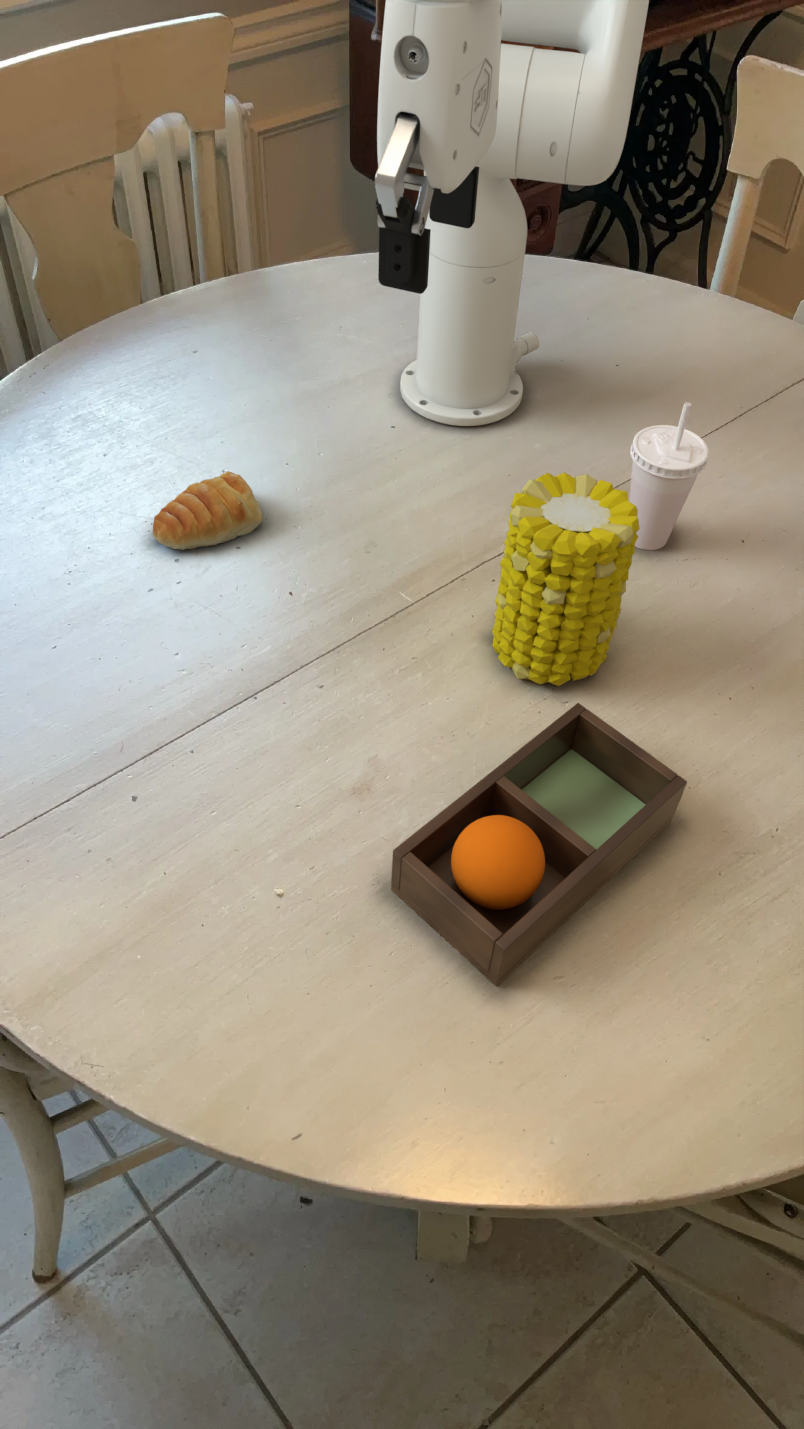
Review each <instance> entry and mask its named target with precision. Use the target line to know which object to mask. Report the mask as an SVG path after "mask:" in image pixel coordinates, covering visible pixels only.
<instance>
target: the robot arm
mask: <svg viewBox="0 0 804 1429" xmlns="http://www.w3.org/2000/svg"><path fill="white" fill-rule="evenodd" d="M649 4H650V0H385V4H384V13H383V24H382V36H381V38H382V39H381V46H380V60H379V61H380V62H379V74H378V75H379V79H378V95H377V96H378V97H377V118H376V120H377V121H376V123H377V124H376V143H377V144H376V152H377V154H376V155H377V169H376V172H375V176H374V187H375V188H374V189H375V193H376V196H377V197H376V200H375V209H376V211H377V220H376V221H377V222H376V224H377V227H378V275H377V277H378V278H377V280H378V283H379V284H380V285H381V286H383V287H387V288H392V289H397V290H400V291H406V292H410V293H414V294H419V305H418V306H419V307H418V308H419V310H418V325H417V326H418V328H417V346H416V347H417V348H416V349H417V350H416V359H415V360H413V361H411V362H410V363H409V364H408V365H407V366H406V367H405V368H404V370H403V371H402V373H401V377H400V384H399V391H400V395H401V397H402V399H403V401H404V403H405V404H406V406H408V407H409V408H410V410H412V411H413V412H415V413H417V414H418V415H420V416H422V417H423V418H426V419H428V420H430V421H434V422H437V423H439V424H444V425H448V426H458V427H477V426H483V425H488V424H492V423H495V422H499V421H500V420H503V419H505V418H507V417H508V416H510V415H511V414H512V413H514V412H515V411H516V410H517V409H518V407H519V406H520V404H521V402H522V399H523V394H524V386H523V384H524V383H523V381H522V379H521V376H520V375H519V374H518V372H517V371H516V364H518V363H519V362H520V361H521V358H522V357H524V356H527V355H528V354H531V353H533V352H534V351H537V350H538V349H539V347H540V339H539V337H538V335H537V333H535V332H534V331H528V332H526V333H524V334H522V335H520V336H518V337H517V338H515V336H516V329H517V328H516V326H517V321H518V320H517V319H518V311H519V303H520V295H521V288H522V280H523V271H524V265H525V256H526V249H527V240H528V220H527V216H526V211H525V207H524V205H523V203H522V199H521V198H520V196H519V193H518V192H517V190H516V187H515V186H514V185H513V182H512V180H518V179H521V180H529V181H530V180H531V181H537V182H545V183H553V184H561V185H569V186H587V187H588V186H589V187H590V186H596V185H599V184H601V183H603V182H606V180H607V179H609V178H610V177H611V176H612V175H613V173H614V172H615V170H616V169H617V166H618V165H619V162H620V159H621V156H622V153H623V150H624V146H625V142H626V139H627V132H628V127H629V122H630V118H631V117H630V116H631V110H632V105H633V99H634V92H635V86H636V81H637V76H638V75H637V74H638V70H639V64H640V62H639V61H640V58H641V51H642V46H643V39H644V34H645V27H646V22H647V16H648V10H649ZM502 41H504V42H509V43H502ZM510 43H520V44H528V45H519V44H510ZM529 45H536V46H546V47H555V48H563V49H569V50H570V49H571V50H577V51H578V52H574V51H567V50H566V51H565V50H555V49H545V48H544V49H543V48H536V47H535V46H529ZM409 168H411V169H417V170H423V175H421V174H417V173H411V172H408V169H409ZM405 189H407V190H411V191H418V195H417V198H416V203H415V207H414V206H413V204H412V202H411V199H410V198H409V197H406V196H404V193H405Z"/></svg>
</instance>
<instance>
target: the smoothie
mask: <svg viewBox="0 0 804 1429" xmlns="http://www.w3.org/2000/svg"><path fill="white" fill-rule="evenodd" d="M691 406H692V403H691V402H689V401H687V402H684V403H683V405H682V410H681V413H680V418H679V421H678V425H671V424H657V425H652V426H651V425H650V426H647V427H644V428H642V429H640V431H638V432H636V434H635V435H634V437H633V440H632V444H631V446H630V448H629V450H630V451H629V454H630V456H631V459H632V466H631V477H630V487H629V496H628V500H629V502H630V503H632V504H634V505H635V506H636V507H637V509H638V513H637V517H638V521H639V527H640V530H638V531H637V532H636V534H637V535H638V539H637V541H636V543H635V548H638V549H641V550H645V551H656V550H660V549H661V548H663V547H664V546H666V544H667V542H668V540H669V538H670V536H671V535H672V534H671V533H672V531H673V530H674V527H675V525H676V523H677V520H678V518H679V517H680V514H681V512H682V510H683V508H684V505H685V503H686V501H687V499H688V497H689V494H690V493H691V491H692V489H693V486H694V484H695V482H696V480H697V478H698V475H699V474H700V473H702V472H703V471H704V470H705V468H706V467H707V464H708V458H709V455H710V454H709V453H710V452H709V447H708V445H707V443H706V441H704V439H703V438H702V437H701V436H699V435H698V434H697V433H695V432H693V431H691V430H689V429H686V425H687V422H688V418H689V414H690V410H691Z"/></svg>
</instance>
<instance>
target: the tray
mask: <svg viewBox="0 0 804 1429" xmlns="http://www.w3.org/2000/svg"><path fill="white" fill-rule="evenodd" d="M687 784H688V781H687V780H686V779H685V778H683V777H682V776H680V775H679V774H678V773H677V772H675V771H673V769H671V768H669V766H667V765H666V764H664V763H663V762H661V761H660V760H659V759H658V758H656V757H654V756H653V755H652V754H650V753H649V752H648V751H646V750H645V749H643V748H642V747H641V746H639V745H638V744H636V743H635V742H634V741H632V740H630V739H629V738H628V737H627V736H626V735H624V734H623V733H621V732H620V731H619V730H617V729H615V727H613V726H611V725H610V724H608V722H606V721H604V720H603V719H602V718H601V717H599V716H598V715H596V714H595V713H594V712H592V711H590V709H588V708H586V707H585V706H584V705H582V704H581V703H579V702H577V703H576V704H574V705H573V706H572V707H571V708H569V709H568V710H567V711H565V712H564V713H563V714H562V715H561V716H560V717H558V718H556V720H554V721H553V722H552V723H550V725H548V726H546V728H545V729H543V730H542V731H541V732H539V733H538V734H537V735H535V736H534V737H533V738H532V739H531V740H529V741H528V742H527V743H525V744H524V745H522V746H521V748H519V749H518V750H517V751H516V752H514V753H513V754H512V755H510V756H508V758H507V759H506V760H504V761H503V762H502V763H500V764H499V765H498V766H497V767H495V768H494V769H492V771H490V772H489V773H488V774H486V776H484V777H483V778H481V779H480V780H479V781H478V782H477V783H476V784H474V785H473V786H472V787H470V788H469V789H468V790H467V791H466V792H464V793H463V794H461V795H460V796H459V797H457V799H455V800H454V801H453V802H451V803H450V804H449V805H448V806H447V807H445V808H444V809H443V810H442V811H440V812H439V813H438V814H437V815H435V816H434V817H433V818H432V819H430V820H429V821H428V822H427V823H425V824H424V825H423V826H421V828H419V829H417V830H416V831H415V832H414V833H413V834H411V836H410V835H409V837H408V838H407V839H405V840H404V841H402V843H400V844H399V845H398V846H396V847H395V848H394V849H392V859H391V861H392V862H391V879H390V880H391V882H390V883H391V884H390V890H391V891H392V892H393V893H394V894H395V895H396V896H398V898H399V899H400V900H402V901H403V902H404V903H405V904H406V905H407V906H408V908H410V909H411V910H412V911H414V912H415V913H416V914H417V915H418V916H419V917H420V918H421V919H422V920H424V921H425V923H427V924H428V925H429V926H430V927H431V928H432V929H433V930H434V931H435V932H437V933H438V934H439V935H440V936H441V937H442V938H443V939H444V940H445V941H446V942H447V943H448V944H449V945H451V947H452V948H454V950H456V951H457V952H458V953H459V954H460V955H461V956H463V958H464V959H465V960H467V962H469V963H470V964H471V965H472V966H474V968H476V969H477V970H478V971H479V972H480V973H481V974H482V975H483V976H484V977H485V978H486V979H487V980H489V981H490V982H491V983H492V984H493V985H494V986H495V987H498V986H499V985H500V984H501V983H502V982H503V981H505V979H506V978H508V977H509V976H510V975H511V974H512V973H513V972H514V971H515V970H516V969H517V968H518V967H519V966H521V965H522V964H523V962H524V961H526V960H527V959H528V958H529V957H530V956H531V955H532V954H533V953H534V952H535V951H536V950H537V949H538V948H539V947H541V946H542V945H543V944H544V943H545V942H546V941H547V940H548V939H549V938H550V937H551V936H552V935H554V933H555V932H556V931H557V930H558V929H559V928H561V926H563V925H564V924H565V923H566V922H568V920H569V919H570V918H571V917H572V916H573V915H575V913H576V912H578V911H579V909H581V908H582V907H583V906H584V905H585V904H586V903H587V902H588V901H589V900H590V899H591V898H592V897H593V896H595V894H597V893H598V892H599V891H601V889H602V888H603V887H604V886H605V885H606V884H608V882H609V881H611V879H612V878H614V877H615V875H617V874H618V873H619V872H620V871H621V870H622V869H623V868H624V867H626V866H627V864H628V863H629V862H630V861H632V860H633V859H634V858H635V857H637V855H638V854H639V853H640V852H641V851H642V850H644V849H645V847H647V846H648V845H649V844H650V843H651V842H652V841H653V840H654V839H655V838H656V837H657V836H658V835H659V834H660V833H661V832H662V831H663V830H664V829H665V828H667V827H668V825H670V824H671V823H672V822H673V818H674V816H675V813H676V811H677V809H678V807H679V805H680V804H679V803H680V801H681V799H682V797H683V794H684V791H685V789H686V786H687ZM492 815H504V816H509V817H512V818H515V819H517V820H519V821H521V822H523V823H524V824H526V825H527V826H528V827H529V828H530V829H532V831H533V832H534V833H535V834H536V836H537V837H538V839H539V840H540V843H541V845H542V847H543V851H544V856H545V870H544V875H543V879H542V881H541V883H540V885H539V887H538V889H537V890H536V891H535V893H534V894H533V895H532V896H531V897H530V898H529V899H528V900H526V901H525V902H524V903H522V904H520V905H518V906H516V907H513V908H509V909H503V910H494V909H488V908H485V907H481V906H479V905H477V904H475V903H474V902H472V901H471V900H470V899H468V898H467V897H466V896H465V895H464V894H463V893H462V892H461V890H460V889H459V887H458V886H457V884H456V882H455V879H454V877H453V873H452V868H451V855H452V851H453V847H454V844H455V842H456V840H457V838H458V837H459V835H460V834H461V832H462V831H463V830H464V829H465V828H466V827H467V826H468V825H470V824H471V823H472V822H474V821H476V820H478V819H480V818H483V817H486V816H492Z"/></svg>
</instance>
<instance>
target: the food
mask: <svg viewBox="0 0 804 1429" xmlns="http://www.w3.org/2000/svg"><path fill="white" fill-rule="evenodd" d="M520 491H521V492H514V494H513V499H512V501H511V505H510V506H511V511H510V514H509V515H508V517H509V520H508V531H507V532H506V537H505V540H504V543H503V544H504V548H503V551H502V552H503V557H502V558H501V560H500V562H499V565H500V567H501V569H500V579H499V582H498V587H497V593H496V596H495V600H494V603H495V605H496V609H495V611H494V614H493V615H494V617H495V619H494V624H493V626H492V630H491V632H492V636H493V639H492V646H491V647H492V649H493V650H494V652H495V654H496V655H498V656H497V660H499V661H500V663H501V664H502V665H503V666H504V667H507V668H511V670H512V672H513V673H514V675H515V677H516V679H517V680H530V681H531V682H534V683H535V684H537V685H543V684H546V683H550V684H552V685H555V686H557V687H560V686H562V685H564V684H565V683H567V682H569V681H571V680H572V681H579V680H582V679H585V678H587V677H588V676H591V677H592V676H593V675H595V674H596V672H597V671H598V670H599V668H600V666H601V665H602V664H603V663H605V661H606V660H607V658H608V655H607V653H608V652H609V651H610V643H611V640H612V638H613V635H614V630H616V628H617V627H618V620H619V616H620V613H621V610H622V608H621V605H622V597H623V595H624V594H625V593H626V592H627V581H628V580H629V571H630V568H631V566H632V564H633V555H634V554H635V552H636V546H635V543H636V541H637V539H638V535H637V534H636V532H637V531H638V530H640V527H639V521H638V517H637V513H638V509H637V507H636V506H635V505H634V504H632V503H630V502H629V495H628V494H629V493H628V491H626V490H621V489H616V488H615V487H614V485H613V483H612V482H609V481H606V480H602V479H599V480H597V479H595V478H594V477H592V476H591V475H589V474H587V473H584V474H581V475H577V476H575V477H573V476H572V475H570V474H568V473H567V472H563V473H559V474H557V475H556V476H555V475H553V474H551V473H549V472H546V473H544V474H542V475H541V476H538V477H537V478H536V479H529V480H528V481H527V482H526V483H525V484H524V486H523V487H522V488H521V489H520Z"/></svg>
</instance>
